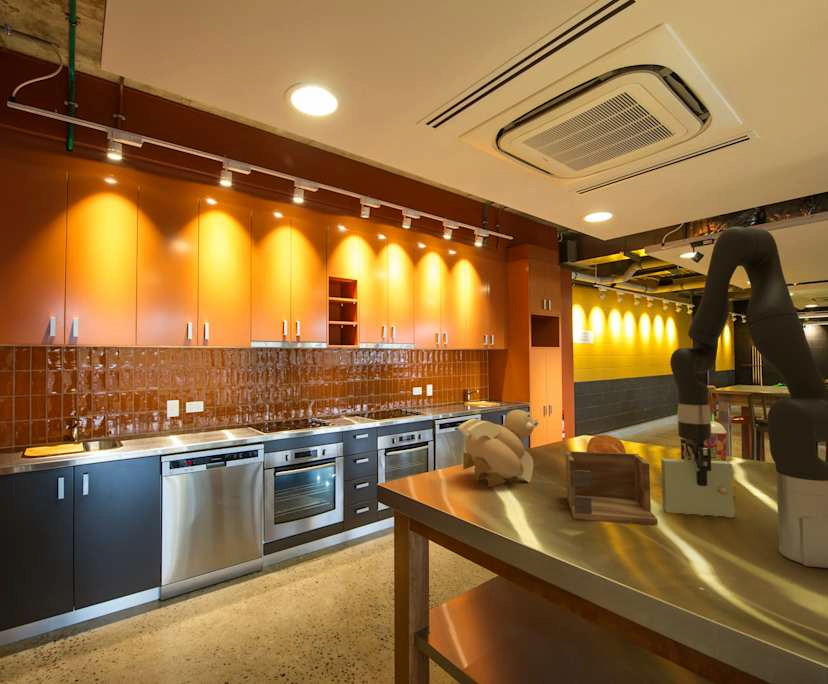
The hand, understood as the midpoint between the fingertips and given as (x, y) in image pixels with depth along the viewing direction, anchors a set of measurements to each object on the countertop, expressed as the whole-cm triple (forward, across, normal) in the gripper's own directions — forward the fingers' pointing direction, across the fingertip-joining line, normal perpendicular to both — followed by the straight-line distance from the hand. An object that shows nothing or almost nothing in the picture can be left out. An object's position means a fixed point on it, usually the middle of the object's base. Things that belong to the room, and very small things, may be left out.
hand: (696, 481), depth 116 cm
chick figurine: (+9, +18, +55) cm, 59 cm away
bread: (+9, +25, +18) cm, 32 cm away
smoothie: (+9, +56, -26) cm, 62 cm away
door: (+9, 0, 0) cm, 9 cm away
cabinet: (+8, -3, +23) cm, 25 cm away
